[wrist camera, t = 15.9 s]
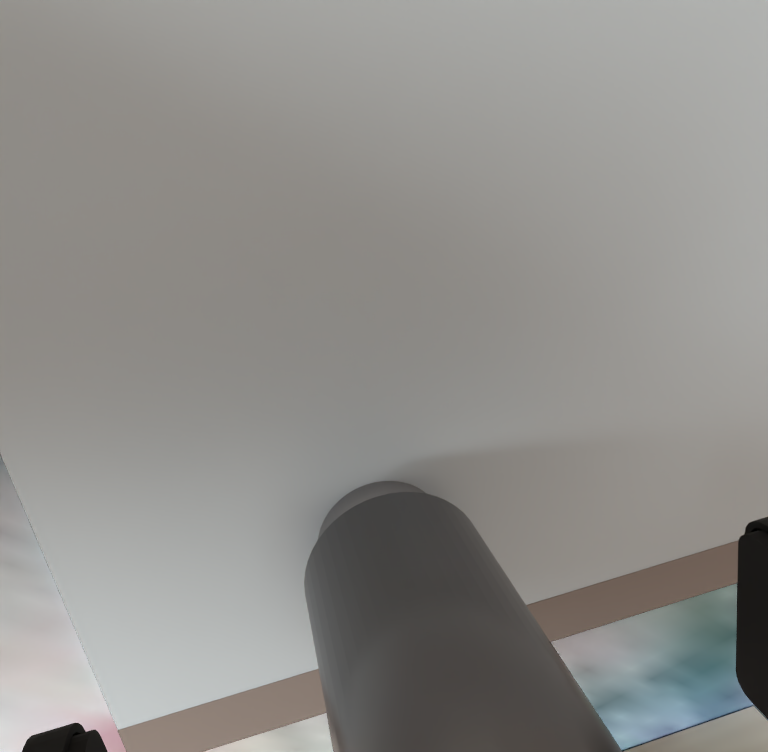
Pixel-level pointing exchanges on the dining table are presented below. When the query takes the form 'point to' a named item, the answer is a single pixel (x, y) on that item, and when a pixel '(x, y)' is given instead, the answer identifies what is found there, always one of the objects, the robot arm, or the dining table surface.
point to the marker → (432, 637)
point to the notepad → (373, 313)
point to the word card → (717, 736)
